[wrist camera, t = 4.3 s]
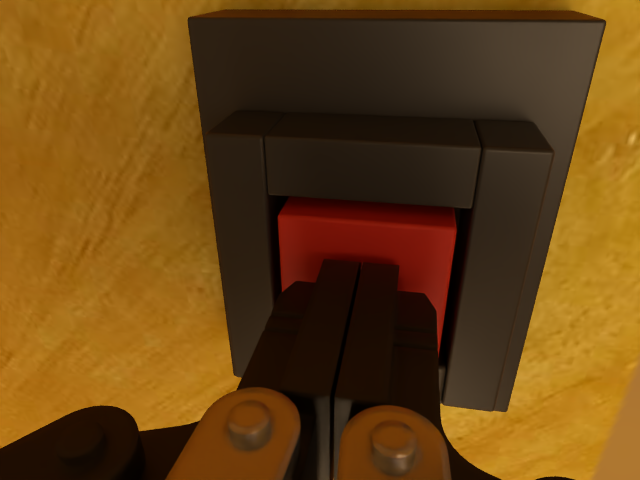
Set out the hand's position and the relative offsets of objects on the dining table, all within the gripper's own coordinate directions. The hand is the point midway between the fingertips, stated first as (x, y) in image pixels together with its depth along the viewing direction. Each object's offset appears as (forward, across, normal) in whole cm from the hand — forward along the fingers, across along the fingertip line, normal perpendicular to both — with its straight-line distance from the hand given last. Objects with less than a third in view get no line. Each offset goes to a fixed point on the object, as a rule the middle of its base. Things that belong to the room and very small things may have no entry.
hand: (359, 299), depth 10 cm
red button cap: (+2, 0, 0) cm, 2 cm away
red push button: (+4, 0, 0) cm, 4 cm away
